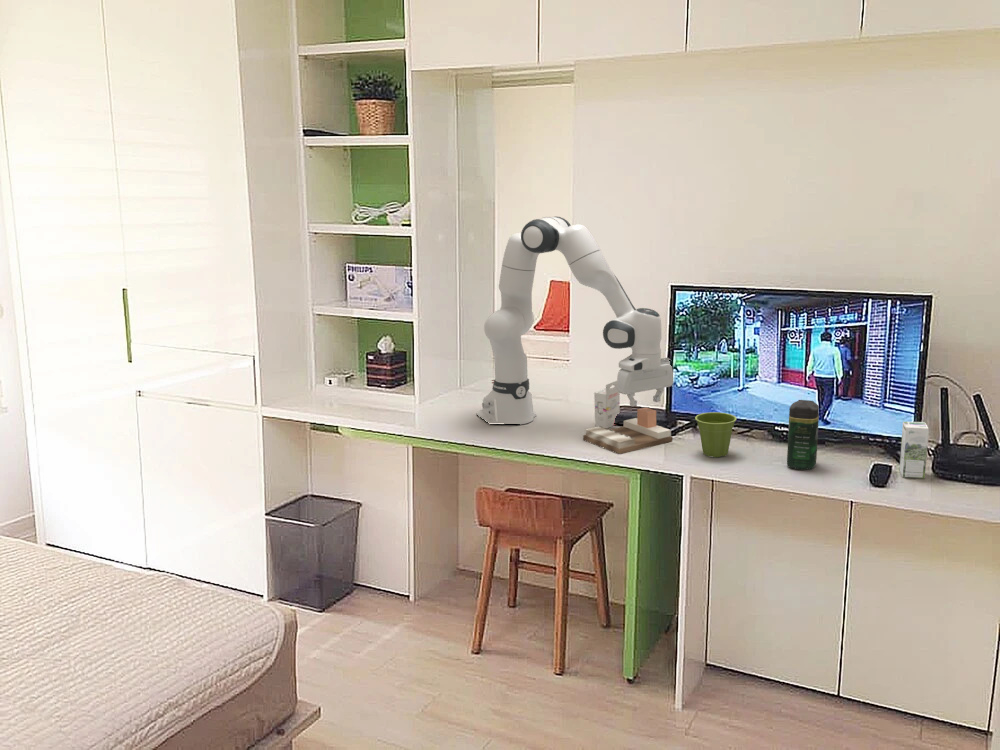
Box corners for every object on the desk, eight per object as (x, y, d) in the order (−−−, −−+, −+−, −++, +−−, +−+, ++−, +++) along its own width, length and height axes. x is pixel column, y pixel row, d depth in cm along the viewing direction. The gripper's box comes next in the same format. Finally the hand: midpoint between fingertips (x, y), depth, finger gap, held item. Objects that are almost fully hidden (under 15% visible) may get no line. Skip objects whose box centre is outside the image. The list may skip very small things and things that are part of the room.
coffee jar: (814, 472, 259) (817, 407, 255) (784, 469, 263) (787, 405, 258) (818, 461, 268) (821, 398, 264) (789, 458, 271) (791, 396, 267)
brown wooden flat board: (583, 439, 296) (583, 429, 295) (635, 428, 306) (635, 417, 305) (619, 454, 281) (618, 442, 280) (672, 441, 291) (672, 430, 290)
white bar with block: (623, 426, 303) (623, 405, 301) (635, 424, 305) (635, 403, 304) (658, 439, 289) (658, 417, 287) (670, 436, 291) (671, 414, 289)
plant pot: (691, 448, 284) (692, 412, 281) (731, 447, 283) (732, 411, 280) (697, 460, 272) (698, 423, 270) (739, 460, 272) (740, 422, 269)
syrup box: (921, 472, 257) (925, 421, 253) (925, 479, 251) (929, 427, 248) (899, 471, 258) (902, 420, 255) (902, 478, 253) (905, 426, 249)
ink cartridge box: (607, 420, 316) (607, 378, 313) (620, 422, 313) (620, 379, 310) (594, 426, 310) (593, 383, 306) (607, 428, 307) (606, 385, 303)
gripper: (665, 354, 300) (663, 396, 303) (614, 363, 289) (613, 406, 293) (678, 358, 294) (676, 401, 298) (627, 366, 284) (626, 410, 287)
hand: (645, 403), depth 295 cm, fingers open, 8 cm apart
